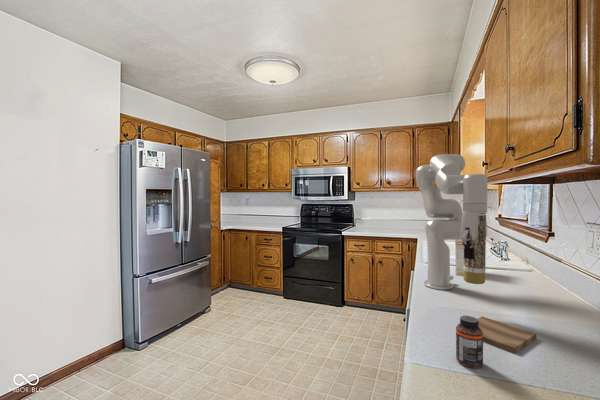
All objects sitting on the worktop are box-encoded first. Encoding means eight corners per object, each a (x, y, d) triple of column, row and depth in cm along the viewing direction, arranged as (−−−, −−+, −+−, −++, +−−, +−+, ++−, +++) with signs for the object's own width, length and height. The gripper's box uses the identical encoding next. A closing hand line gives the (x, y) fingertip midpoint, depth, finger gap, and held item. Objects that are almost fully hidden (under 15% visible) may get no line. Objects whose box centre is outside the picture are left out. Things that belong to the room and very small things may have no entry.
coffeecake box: (461, 269, 168) (461, 236, 168) (475, 271, 163) (475, 237, 163) (454, 275, 157) (454, 239, 157) (469, 277, 152) (469, 240, 152)
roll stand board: (482, 320, 98) (482, 316, 98) (536, 338, 86) (536, 333, 86) (458, 332, 90) (458, 327, 90) (514, 353, 78) (514, 348, 78)
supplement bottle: (459, 353, 78) (459, 311, 78) (485, 362, 74) (485, 317, 74) (453, 363, 73) (453, 318, 73) (480, 372, 69) (480, 325, 69)
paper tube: (477, 279, 109) (477, 212, 108) (489, 284, 102) (490, 213, 101) (459, 279, 108) (460, 212, 108) (470, 285, 102) (471, 214, 101)
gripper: (475, 207, 112) (475, 253, 113) (451, 208, 103) (450, 258, 103) (497, 208, 106) (497, 256, 106) (473, 209, 97) (473, 262, 97)
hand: (474, 257), depth 105 cm, fingers closed on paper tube, 6 cm apart
